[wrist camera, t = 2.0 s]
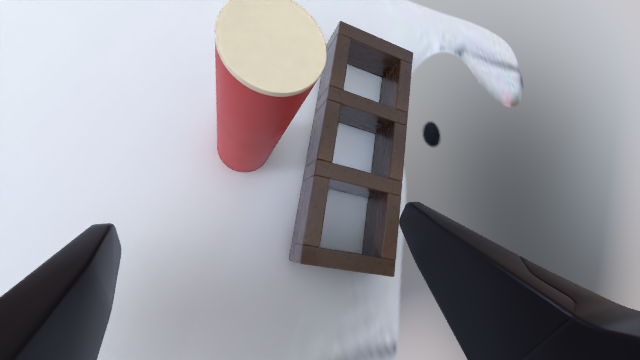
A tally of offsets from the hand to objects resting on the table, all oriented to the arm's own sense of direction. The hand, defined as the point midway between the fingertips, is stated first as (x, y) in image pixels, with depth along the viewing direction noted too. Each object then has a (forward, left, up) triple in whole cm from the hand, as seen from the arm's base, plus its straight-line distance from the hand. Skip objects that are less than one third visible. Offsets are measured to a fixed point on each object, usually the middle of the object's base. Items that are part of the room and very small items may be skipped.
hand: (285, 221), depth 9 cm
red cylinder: (+6, -3, -12) cm, 14 cm away
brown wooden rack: (+2, -10, -12) cm, 16 cm away
